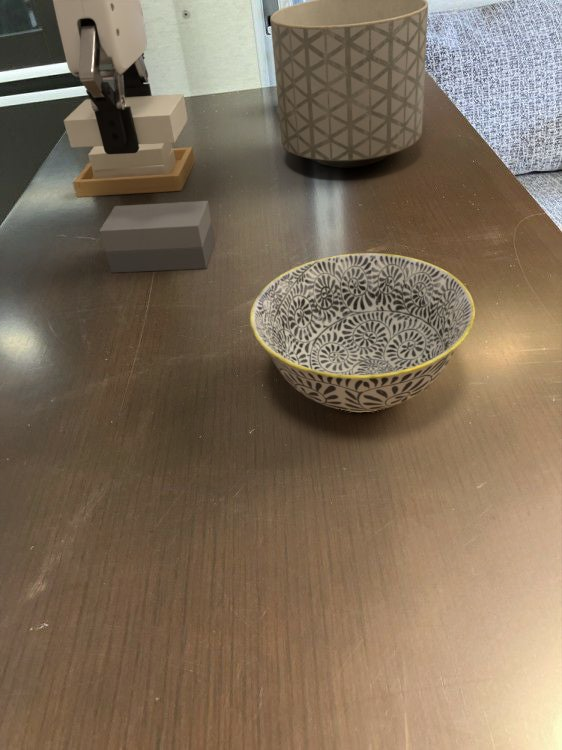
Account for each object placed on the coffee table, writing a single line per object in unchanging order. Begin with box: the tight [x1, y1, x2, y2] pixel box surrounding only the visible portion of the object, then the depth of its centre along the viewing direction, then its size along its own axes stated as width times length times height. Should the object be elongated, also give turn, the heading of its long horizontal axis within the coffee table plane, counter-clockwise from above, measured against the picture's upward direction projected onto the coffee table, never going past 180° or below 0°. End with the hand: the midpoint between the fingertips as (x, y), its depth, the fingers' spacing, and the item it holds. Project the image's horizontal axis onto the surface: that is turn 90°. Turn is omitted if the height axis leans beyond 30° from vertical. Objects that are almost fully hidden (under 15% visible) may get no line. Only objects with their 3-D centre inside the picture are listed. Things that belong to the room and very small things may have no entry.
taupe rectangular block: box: [87, 143, 176, 179], centre depth 86 cm, size 10×7×4 cm
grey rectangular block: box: [98, 200, 216, 274], centre depth 67 cm, size 10×6×5 cm, turn 86°
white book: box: [63, 93, 189, 148], centre depth 60 cm, size 10×6×2 cm, turn 86°
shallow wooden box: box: [72, 146, 196, 198], centre depth 87 cm, size 15×11×2 cm
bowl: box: [249, 252, 476, 411], centre depth 47 cm, size 16×16×8 cm
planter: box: [269, 0, 429, 169], centre depth 81 cm, size 19×19×18 cm
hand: (132, 137), depth 61 cm, fingers closed on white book, 6 cm apart
